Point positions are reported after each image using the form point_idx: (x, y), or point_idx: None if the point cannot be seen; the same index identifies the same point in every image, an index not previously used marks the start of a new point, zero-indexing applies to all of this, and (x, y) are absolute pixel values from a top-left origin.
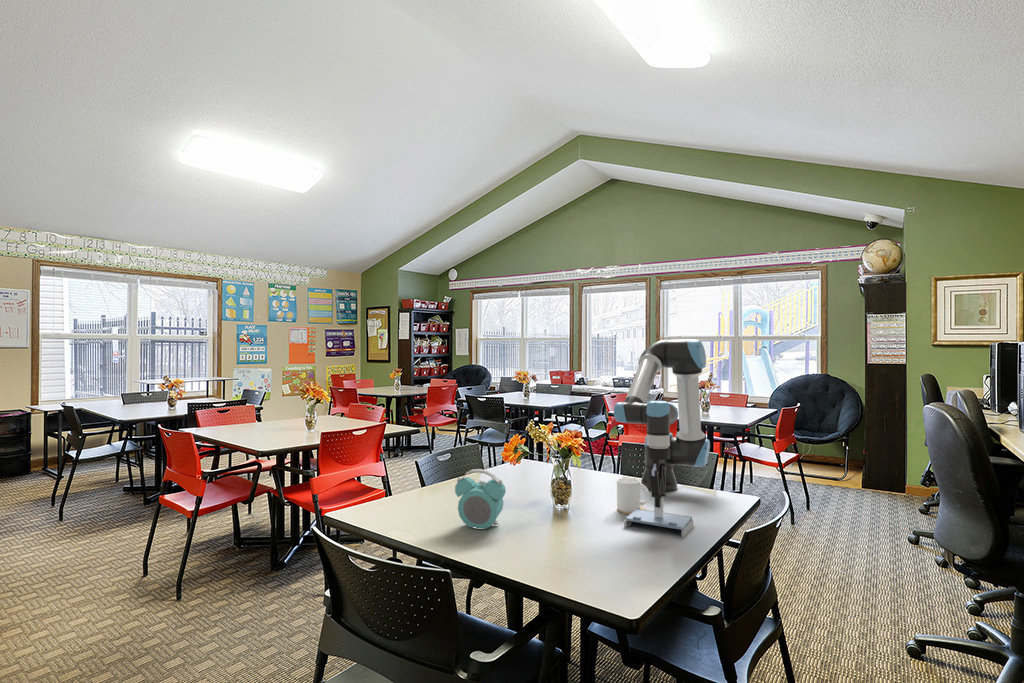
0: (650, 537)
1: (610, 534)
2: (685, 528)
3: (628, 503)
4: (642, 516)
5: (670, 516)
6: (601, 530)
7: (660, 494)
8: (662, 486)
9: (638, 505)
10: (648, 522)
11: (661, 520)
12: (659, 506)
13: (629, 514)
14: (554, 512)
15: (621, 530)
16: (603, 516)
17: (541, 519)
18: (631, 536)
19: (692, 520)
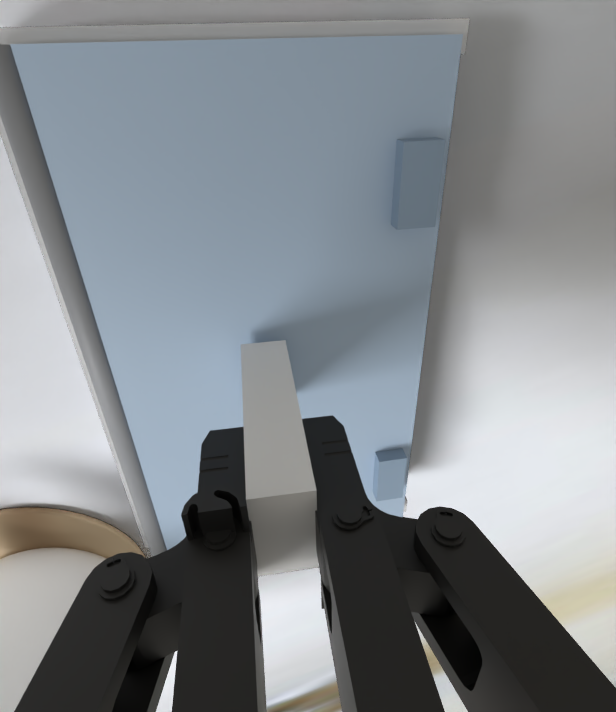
0: (525, 288)
1: (541, 474)
2: (384, 24)
3: None
4: None
5: (164, 294)
6: (493, 523)
7: (389, 547)
8: (254, 704)
9: (41, 584)
10: (415, 385)
11: (337, 319)
12: (330, 424)
13: (140, 551)
14: (340, 708)
15: (455, 464)
16: (271, 605)
17: (445, 690)
18: (541, 386)
19: (10, 32)
